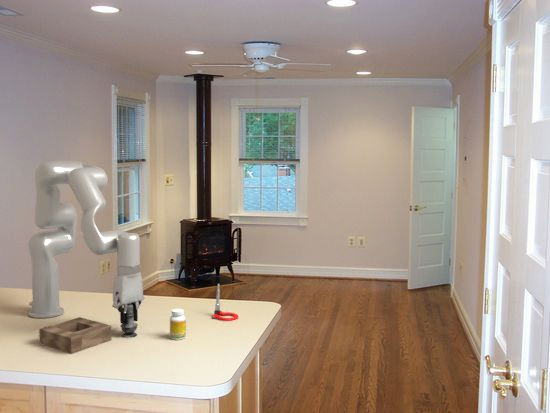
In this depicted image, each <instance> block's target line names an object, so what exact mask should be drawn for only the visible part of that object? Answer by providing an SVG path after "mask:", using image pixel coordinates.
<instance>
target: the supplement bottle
mask: <svg viewBox="0 0 550 413" xmlns="http://www.w3.org/2000/svg"><path fill="white" fill-rule="evenodd" d="M184 314H185V311H184V309H182V308H173V309H172V310H171V316H170V317H169V338H170V339H171V340H175V341H179V340H184V339H185V338H186V328H187V326H186V324H187V323H186V322H187V320H186V319H187V318H186V316H185V315H184Z"/></svg>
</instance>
